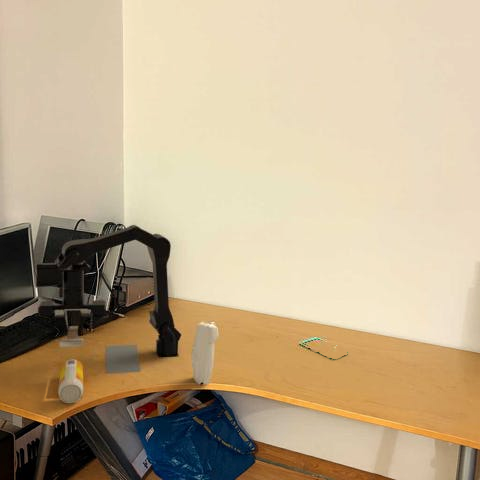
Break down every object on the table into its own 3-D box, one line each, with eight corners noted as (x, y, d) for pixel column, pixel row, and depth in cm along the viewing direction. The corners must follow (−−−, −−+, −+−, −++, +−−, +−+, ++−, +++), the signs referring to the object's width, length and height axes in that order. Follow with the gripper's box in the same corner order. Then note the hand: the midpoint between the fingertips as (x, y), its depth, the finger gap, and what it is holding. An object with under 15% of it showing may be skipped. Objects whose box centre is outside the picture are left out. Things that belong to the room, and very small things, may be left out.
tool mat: (136, 346, 167) (136, 344, 167) (140, 373, 148) (140, 371, 148) (105, 347, 165) (105, 346, 164) (105, 375, 146) (105, 373, 145)
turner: (63, 334, 152) (63, 326, 152) (84, 334, 154) (84, 325, 154) (59, 346, 138) (59, 337, 138) (82, 345, 140) (82, 336, 140)
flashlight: (216, 377, 149) (191, 375, 149) (220, 320, 146) (195, 318, 146) (214, 388, 143) (188, 385, 143) (218, 328, 139) (192, 326, 139)
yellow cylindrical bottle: (62, 380, 142) (60, 407, 128) (58, 360, 140) (56, 386, 126) (84, 375, 144) (84, 401, 130) (81, 356, 142) (80, 380, 128)
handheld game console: (333, 361, 167) (333, 358, 167) (297, 345, 179) (297, 342, 178) (351, 355, 174) (351, 351, 173) (315, 339, 185) (316, 336, 185)
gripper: (106, 277, 155) (105, 324, 158) (42, 277, 150) (42, 326, 153) (106, 287, 144) (105, 338, 147) (37, 288, 139) (37, 340, 142)
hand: (73, 335), depth 147 cm, fingers closed on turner, 3 cm apart
